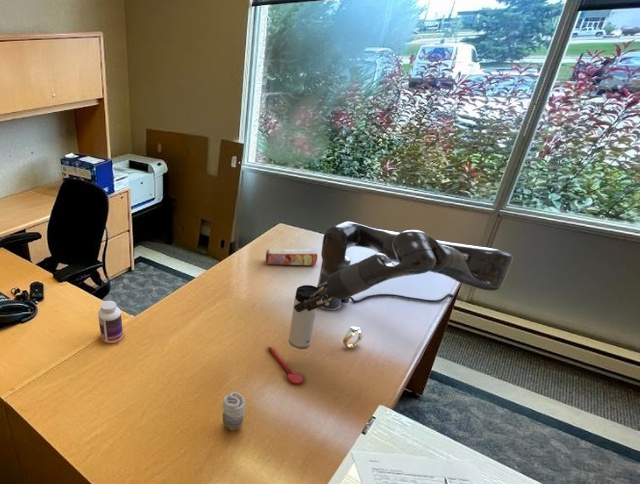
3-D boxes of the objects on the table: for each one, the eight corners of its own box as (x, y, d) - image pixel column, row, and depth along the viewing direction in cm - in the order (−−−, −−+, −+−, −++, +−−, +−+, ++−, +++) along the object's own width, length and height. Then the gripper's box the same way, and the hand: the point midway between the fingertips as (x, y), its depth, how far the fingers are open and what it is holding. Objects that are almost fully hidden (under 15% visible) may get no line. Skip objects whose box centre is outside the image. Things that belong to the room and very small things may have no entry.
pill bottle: (126, 333, 152) (124, 300, 145) (117, 346, 146) (113, 313, 139) (107, 328, 155) (103, 296, 148) (97, 341, 149) (92, 308, 142)
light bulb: (218, 421, 115) (220, 390, 110) (238, 418, 116) (241, 387, 110) (224, 438, 111) (227, 406, 105) (245, 435, 111) (248, 404, 105)
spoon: (263, 350, 139) (263, 347, 139) (275, 347, 140) (275, 345, 140) (292, 386, 125) (293, 383, 124) (305, 382, 126) (306, 380, 125)
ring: (356, 342, 140) (361, 323, 136) (363, 348, 137) (368, 328, 133) (338, 346, 139) (343, 327, 135) (345, 352, 136) (349, 333, 132)
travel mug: (312, 350, 126) (323, 295, 116) (289, 348, 127) (298, 294, 117) (309, 337, 131) (319, 283, 121) (287, 336, 132) (295, 282, 123)
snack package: (266, 266, 188) (267, 253, 184) (264, 259, 193) (266, 246, 190) (316, 267, 184) (318, 254, 180) (313, 260, 189) (315, 247, 186)
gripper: (351, 304, 105) (299, 326, 118) (366, 280, 115) (316, 302, 127) (333, 281, 106) (282, 304, 119) (349, 258, 115) (301, 282, 128)
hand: (300, 303), depth 123 cm, fingers closed on travel mug, 6 cm apart
